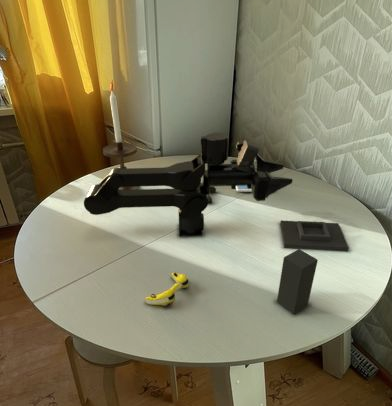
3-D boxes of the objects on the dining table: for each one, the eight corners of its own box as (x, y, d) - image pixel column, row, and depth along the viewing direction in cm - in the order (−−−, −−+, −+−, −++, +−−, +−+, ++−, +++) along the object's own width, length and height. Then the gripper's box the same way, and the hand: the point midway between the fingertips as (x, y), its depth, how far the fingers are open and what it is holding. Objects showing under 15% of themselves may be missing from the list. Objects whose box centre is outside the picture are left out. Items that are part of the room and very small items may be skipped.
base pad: (284, 247, 92) (285, 239, 90) (280, 223, 102) (281, 215, 100) (347, 251, 90) (350, 242, 89) (337, 226, 100) (339, 218, 99)
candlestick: (125, 179, 128) (111, 75, 109) (147, 187, 123) (137, 78, 104) (102, 190, 121) (83, 81, 102) (125, 199, 116) (109, 85, 96)
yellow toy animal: (171, 311, 72) (164, 297, 71) (149, 309, 76) (143, 296, 75) (196, 284, 79) (191, 270, 78) (175, 283, 83) (170, 270, 82)
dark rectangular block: (276, 302, 75) (283, 257, 69) (290, 293, 78) (299, 248, 71) (293, 314, 72) (302, 268, 66) (307, 304, 74) (318, 259, 68)
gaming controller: (213, 202, 111) (200, 189, 109) (201, 211, 114) (188, 199, 112) (217, 189, 119) (205, 176, 117) (206, 198, 122) (194, 186, 120)
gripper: (233, 158, 78) (302, 156, 79) (224, 132, 94) (282, 131, 94) (230, 202, 84) (295, 201, 85) (223, 171, 100) (277, 170, 100)
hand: (287, 173), depth 91 cm, fingers open, 9 cm apart
